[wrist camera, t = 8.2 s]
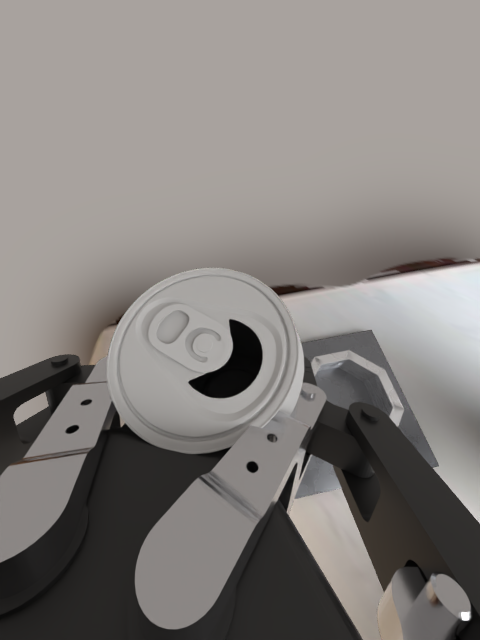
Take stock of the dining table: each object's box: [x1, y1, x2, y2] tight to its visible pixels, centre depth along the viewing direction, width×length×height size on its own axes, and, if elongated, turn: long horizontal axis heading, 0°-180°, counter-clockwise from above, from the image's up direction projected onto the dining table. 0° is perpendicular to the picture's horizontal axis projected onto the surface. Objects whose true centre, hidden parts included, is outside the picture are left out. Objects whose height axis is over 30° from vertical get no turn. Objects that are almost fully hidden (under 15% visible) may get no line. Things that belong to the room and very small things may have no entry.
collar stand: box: [295, 330, 439, 499], centre depth 26 cm, size 16×16×4 cm
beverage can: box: [106, 268, 304, 454], centre depth 12 cm, size 6×6×12 cm
